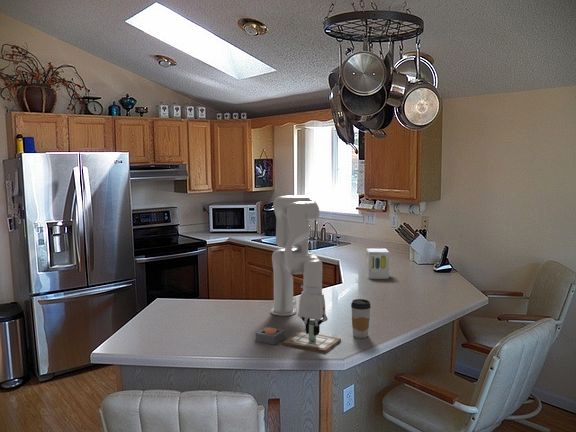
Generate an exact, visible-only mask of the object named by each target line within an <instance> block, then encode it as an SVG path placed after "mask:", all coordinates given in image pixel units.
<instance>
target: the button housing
mask: <svg viewBox="0 0 576 432" xmlns="http://www.w3.org/2000/svg"><path fill="white" fill-rule="evenodd" d="M266 328H272V327H271V326H266V327H263V328H262V329H261V330H258V331H256V332H255V342H260V343H264V344H269V345H277V344H278V343H279V342H281V341H284V340H285V339H286V330H285V329H281V328H276V327H274V328H275V329H276V333H275V334H274V335H271V334H266V333H264V330H265V329H266Z"/></svg>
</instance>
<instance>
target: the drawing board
mask: <svg viewBox="0 0 576 432" xmlns="http://www.w3.org/2000/svg"><path fill="white" fill-rule="evenodd" d="M341 341H342V339H341V338H339V337H334V336H329V335H324V334H318V335H316V341H309V334H306V331H304V330H299V331H298V332H296V333H294V334H293V335H291V336H290V337H288V338H286V339H284V340H282V345H284V346H288V347H294V348H298V349H303V350H307V351H312V352H316V353H322V354H327V353H328V352H329V351H330V350H332V349H333V348H335V346H336V345H338V344H340V342H341Z"/></svg>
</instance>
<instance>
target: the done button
mask: <svg viewBox="0 0 576 432" xmlns="http://www.w3.org/2000/svg"><path fill="white" fill-rule="evenodd" d="M275 328H276V327H271V328H266V329H265V330H264V333H266V334H271V335H274V334H275V333H276V329H275Z"/></svg>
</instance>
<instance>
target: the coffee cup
mask: <svg viewBox="0 0 576 432" xmlns="http://www.w3.org/2000/svg"><path fill="white" fill-rule="evenodd" d="M350 306H351V321H352V322H351V328H352V334H353V337H355V338H357V339H358V338H359V339H364V338H367V337H368V336H369V328H370V315H371V303H370V300H368V299H362V298H356V299H353V300H352V301H351V303H350Z"/></svg>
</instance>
